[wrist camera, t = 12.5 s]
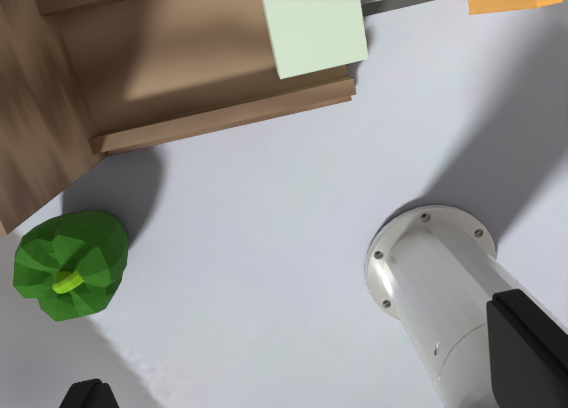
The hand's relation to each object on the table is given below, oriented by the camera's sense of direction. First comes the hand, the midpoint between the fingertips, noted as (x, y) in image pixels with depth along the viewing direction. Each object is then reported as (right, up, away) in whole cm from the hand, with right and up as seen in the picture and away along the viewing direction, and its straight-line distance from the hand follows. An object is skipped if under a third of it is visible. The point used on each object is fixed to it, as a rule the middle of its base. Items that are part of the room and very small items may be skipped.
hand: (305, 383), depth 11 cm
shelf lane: (-7, +17, +26) cm, 32 cm away
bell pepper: (-18, +1, +31) cm, 36 cm away
